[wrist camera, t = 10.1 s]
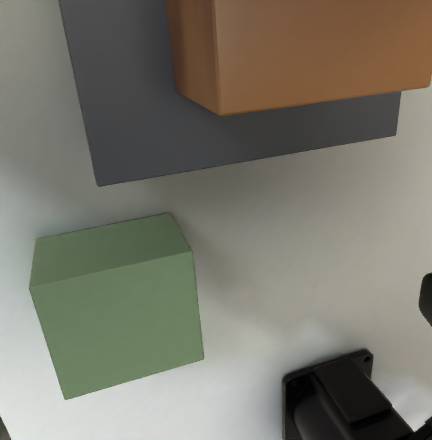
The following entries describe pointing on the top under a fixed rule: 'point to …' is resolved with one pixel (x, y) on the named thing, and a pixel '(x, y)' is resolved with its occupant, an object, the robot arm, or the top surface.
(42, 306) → the sage box
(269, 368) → the top surface
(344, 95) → the oak box
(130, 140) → the storage box
